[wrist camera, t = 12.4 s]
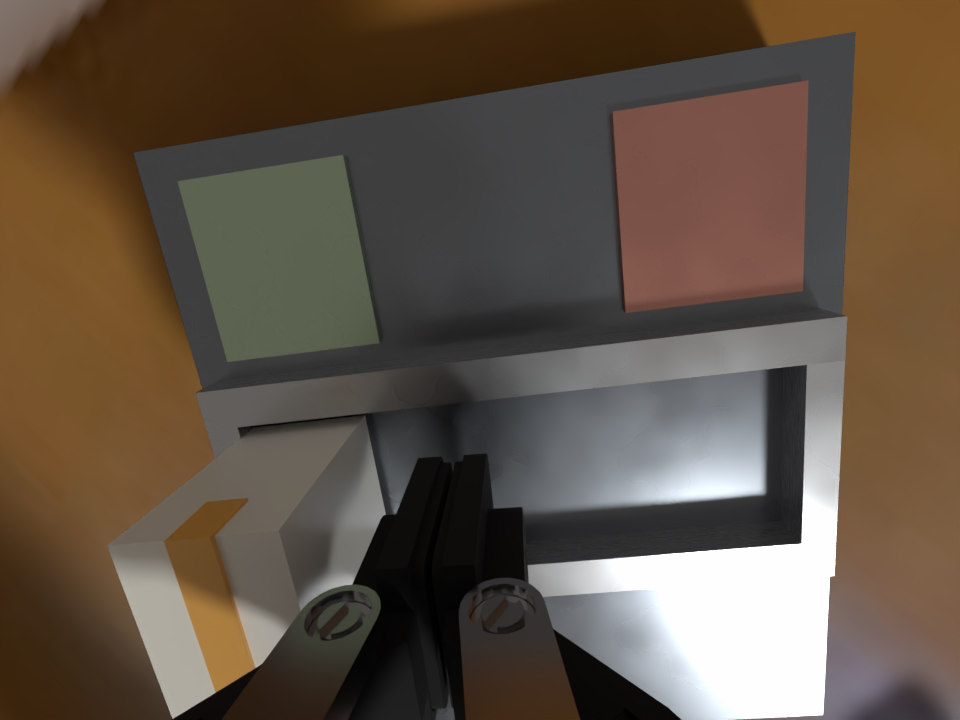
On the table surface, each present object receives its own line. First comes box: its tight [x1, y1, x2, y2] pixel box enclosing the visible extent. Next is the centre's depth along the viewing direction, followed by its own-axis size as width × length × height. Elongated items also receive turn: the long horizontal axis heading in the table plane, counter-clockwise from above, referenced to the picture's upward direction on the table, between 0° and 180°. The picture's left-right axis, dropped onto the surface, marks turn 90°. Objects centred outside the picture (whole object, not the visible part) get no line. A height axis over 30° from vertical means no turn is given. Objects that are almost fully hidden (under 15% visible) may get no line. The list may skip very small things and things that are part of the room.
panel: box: [133, 32, 855, 720], centre depth 14 cm, size 18×16×4 cm
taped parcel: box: [108, 415, 386, 719], centre depth 11 cm, size 4×3×5 cm
